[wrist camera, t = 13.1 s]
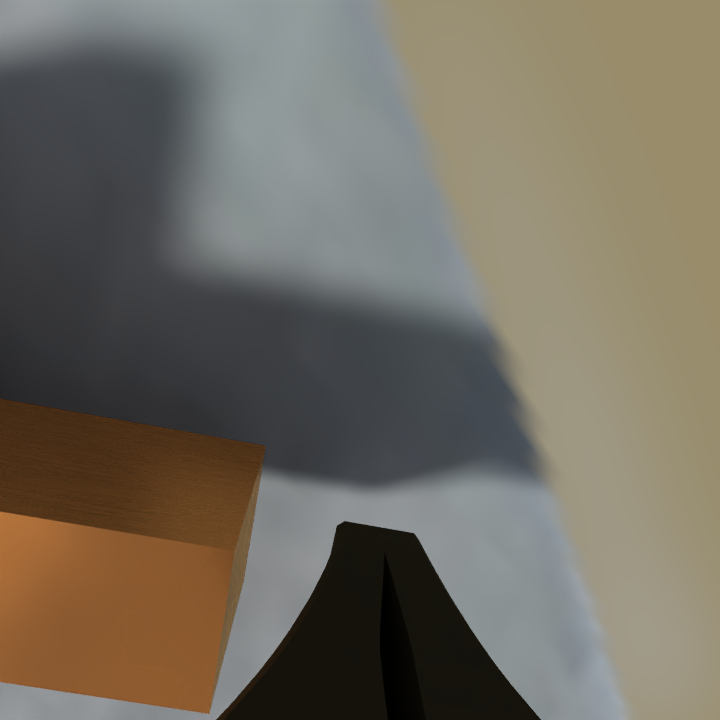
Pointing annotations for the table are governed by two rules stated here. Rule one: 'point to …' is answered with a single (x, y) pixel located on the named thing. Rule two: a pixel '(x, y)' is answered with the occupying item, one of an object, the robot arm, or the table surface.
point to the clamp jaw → (120, 554)
